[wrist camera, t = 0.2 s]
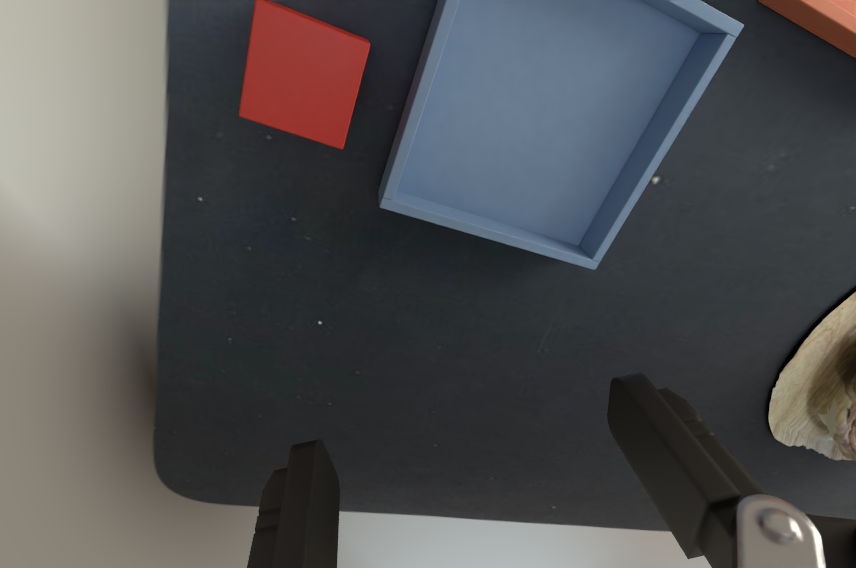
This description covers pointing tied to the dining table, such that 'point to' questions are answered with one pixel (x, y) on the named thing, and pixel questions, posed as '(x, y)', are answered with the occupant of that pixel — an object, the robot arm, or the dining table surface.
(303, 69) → the red block
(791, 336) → the dining table surface
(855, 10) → the orange tray
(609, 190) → the blue tray
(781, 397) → the pie
